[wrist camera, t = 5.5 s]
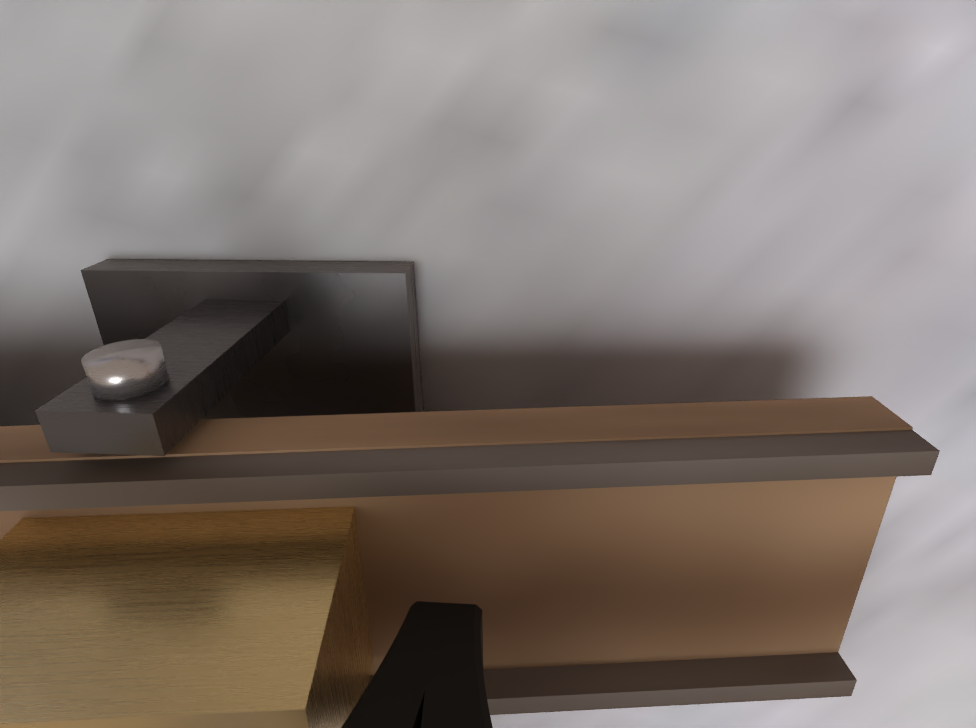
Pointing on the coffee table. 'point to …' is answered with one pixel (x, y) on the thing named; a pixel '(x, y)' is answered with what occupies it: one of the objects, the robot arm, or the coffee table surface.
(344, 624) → the rider
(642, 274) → the coffee table surface
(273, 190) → the coffee table surface
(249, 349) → the grey metal bracket
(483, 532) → the beam
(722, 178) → the coffee table surface
